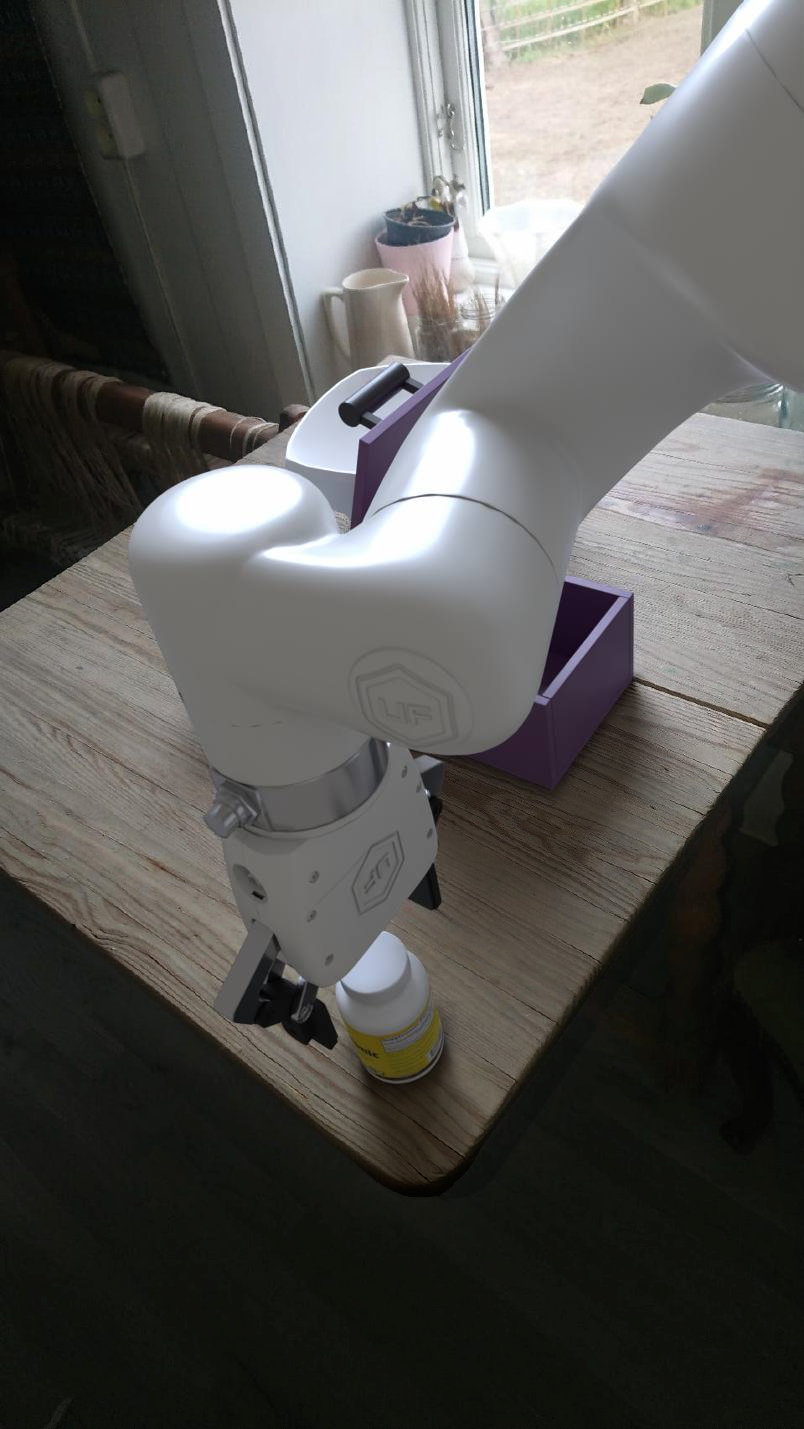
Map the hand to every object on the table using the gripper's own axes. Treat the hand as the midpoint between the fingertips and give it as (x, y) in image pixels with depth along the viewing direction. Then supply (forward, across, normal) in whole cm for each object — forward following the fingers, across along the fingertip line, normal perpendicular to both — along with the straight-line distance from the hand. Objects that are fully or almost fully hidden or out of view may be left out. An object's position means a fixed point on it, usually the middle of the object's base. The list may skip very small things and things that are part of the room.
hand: (367, 961), depth 54 cm
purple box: (+10, +29, +10) cm, 32 cm away
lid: (-8, +29, +16) cm, 34 cm away
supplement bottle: (+10, 0, 0) cm, 10 cm away
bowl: (+10, +49, +31) cm, 59 cm away
